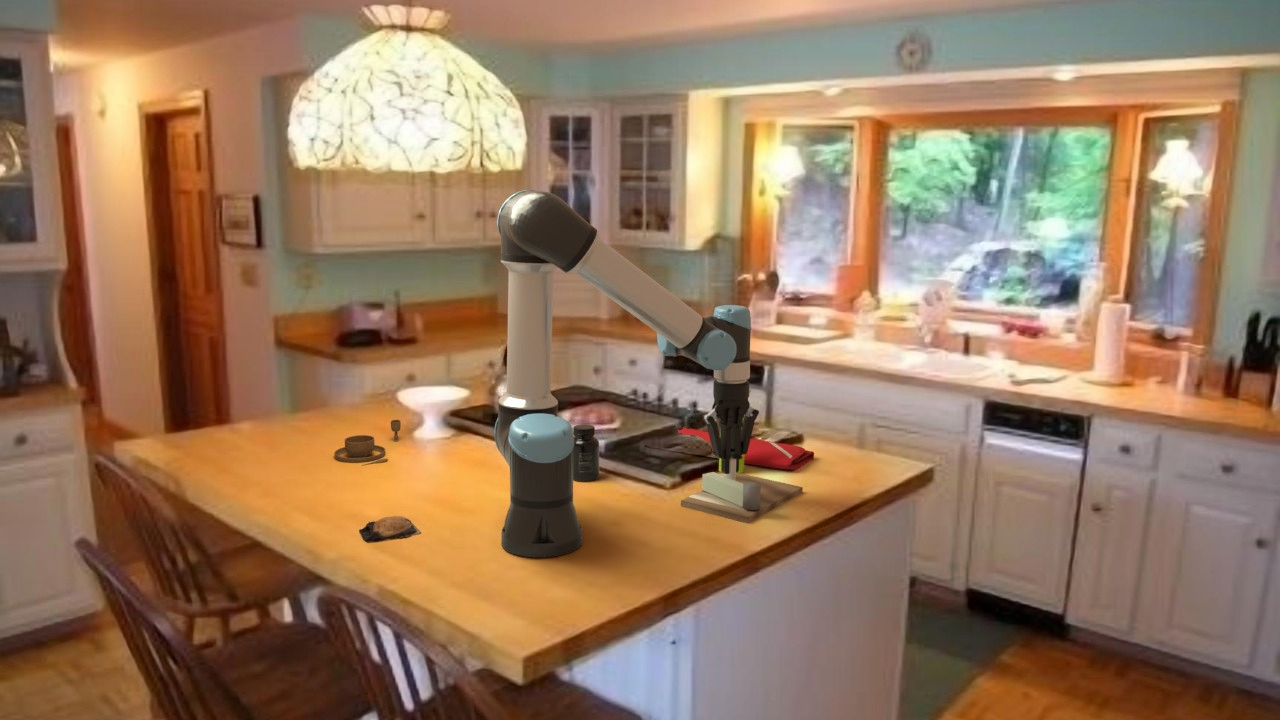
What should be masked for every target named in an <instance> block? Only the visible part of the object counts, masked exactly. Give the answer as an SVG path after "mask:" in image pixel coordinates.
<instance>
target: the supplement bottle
mask: <svg viewBox="0 0 1280 720" xmlns="http://www.w3.org/2000/svg"><path fill="white" fill-rule="evenodd" d="M595 427H596V426H594V425H592V424H585V423H584V424H577V425H574V426H573V437H574V446H573V481H576V482H592V481H595V480H597V479H598V478H599V477H600V441H599V439H598V438H597V437H596V436H595V435H596V432H595Z"/></svg>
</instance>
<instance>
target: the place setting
mask: <svg viewBox="0 0 1280 720" xmlns="http://www.w3.org/2000/svg"><path fill="white" fill-rule="evenodd" d="M401 426H402V425H401V420H400V419H392V420H391V421H390V429H391V431H392V432H394V435H393V438H394V441H393V442H394V443H399V440H398V439H399V435H398V434H399V433H398V432H399V431H401ZM372 452H377V453H378V454H375V455H371V456H369V455H370V454H371V453H372ZM346 453H347V454H348V455H350V456H351V457H343V456H342V455H343V454H344V455H345V454H346ZM333 454H334V457H335V459H336V460H337V461H340V462H342V463H351V464H352V463H353V464H354V463H357V464H358V463H364V464H361V466H362V467H363V466H368V465H372V464H382V463H385V462H387V461H388V460H389V458H383V457H384V456H385V454H386V448H385V447H383V446H381V445H378V444H377V445H376V444H375V437H374V436H371V435H367V434H364V435H363V434H362V435H361V434H359V435H352V436H348V437H346V438H345V439H344V447H340V448H338V449H336V450H335V451H334V453H333Z"/></svg>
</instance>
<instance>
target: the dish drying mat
mask: <svg viewBox="0 0 1280 720" xmlns="http://www.w3.org/2000/svg"><path fill="white" fill-rule="evenodd" d="M686 428H687V427H683V429H682V430H678V433H682V434H686V435H697V436H699V437H701V438H703V439H704V440H706V441H708V442H709V443H710V444H711V442H710V437H709V433H708V430H706V431H705V430H701V429H696V428H695V429H694V428H692V427H691V428H690V427H689V429H686ZM719 435H720V432H719ZM814 458H815V452H814V451H813V450H812V451H810V450H808V449H807V450H806V449H805V448H804V447H802V446H799V445H795V444H794V445H793V444H788V443H782V442H781V443H780V442H775V441H770V440H769V441H768V440H765V439H758V438H752V437H751V439H750V444H749V448H748V452H747V454H744V465H745V464H746V465H753V466H758V467H764V468H773V469H780V470H789V471H790V470H791V471H795V470H798V469H800V468H801V467H803V466H804V465H806V464H808V463H809V462H811V461H814Z"/></svg>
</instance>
